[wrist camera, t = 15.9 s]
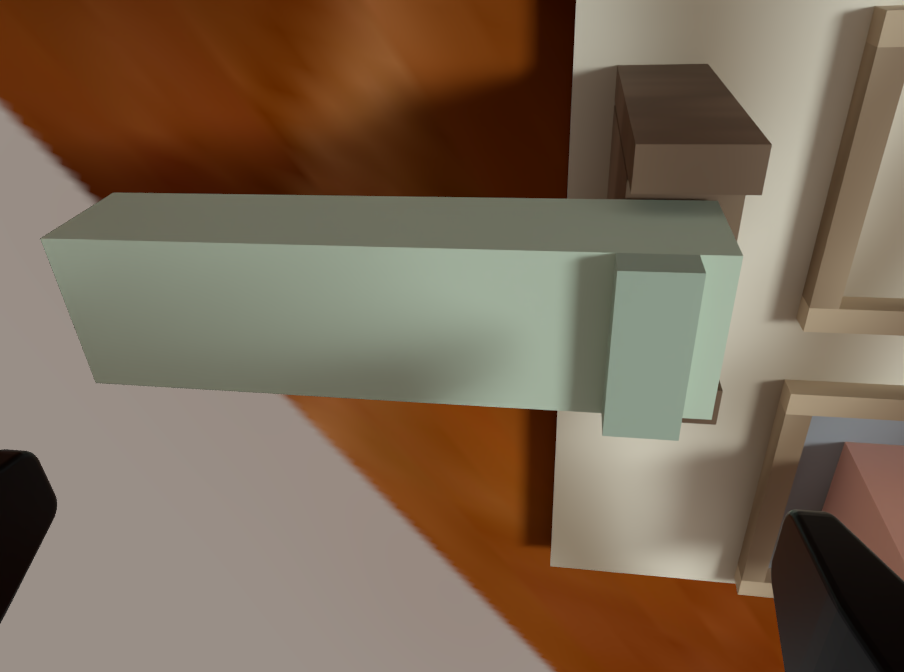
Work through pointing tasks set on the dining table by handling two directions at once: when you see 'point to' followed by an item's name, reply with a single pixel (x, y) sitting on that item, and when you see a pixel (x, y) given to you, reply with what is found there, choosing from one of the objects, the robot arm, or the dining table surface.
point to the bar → (410, 299)
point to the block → (871, 498)
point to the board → (746, 266)
